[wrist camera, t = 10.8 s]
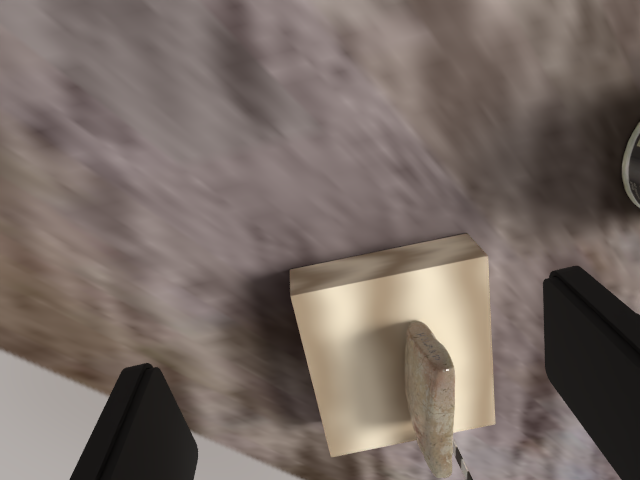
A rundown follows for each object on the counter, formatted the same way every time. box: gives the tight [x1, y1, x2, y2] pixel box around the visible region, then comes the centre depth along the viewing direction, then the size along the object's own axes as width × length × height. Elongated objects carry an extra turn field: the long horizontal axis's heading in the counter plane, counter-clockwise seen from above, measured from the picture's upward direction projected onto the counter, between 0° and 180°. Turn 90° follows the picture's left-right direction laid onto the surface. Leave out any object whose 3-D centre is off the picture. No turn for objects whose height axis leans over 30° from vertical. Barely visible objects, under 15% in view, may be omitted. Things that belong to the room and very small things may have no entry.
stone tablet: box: [404, 321, 473, 480], centre depth 34 cm, size 6×4×12 cm
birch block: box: [290, 233, 495, 457], centre depth 37 cm, size 14×16×4 cm
